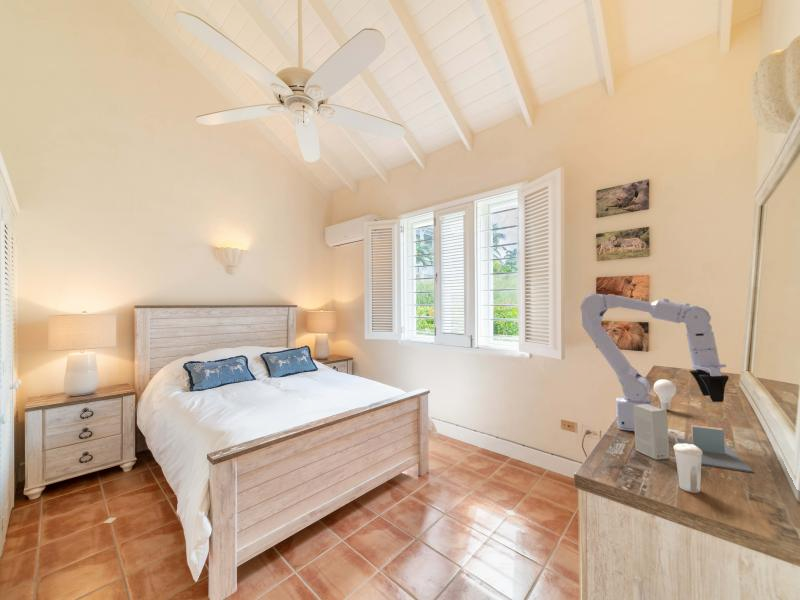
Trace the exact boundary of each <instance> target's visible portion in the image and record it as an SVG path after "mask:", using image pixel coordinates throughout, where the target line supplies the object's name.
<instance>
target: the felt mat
mask: <svg viewBox="0 0 800 600" xmlns="http://www.w3.org/2000/svg"><path fill="white" fill-rule="evenodd" d="M673 438H674V437H673ZM676 438H677V437H676ZM673 440H674V441H675V438H674V439H673ZM677 441H678V443H679V444H684V443H686V444H692V439H685V438H684V439H683V438H677ZM724 446H725V454H718V453H711V452H703V451H702V463H701V466H706V467H707V466H708V467H713V468H718V469H720V468H721V469H727V470H731V471H732V470H734V471H739V472H744V473H745V472H746V473H751V474H754V472H755V471H754V470H753V469H752V467H750V466H749V465H748V464H747V463H746V462H745V461H744V460H743V459H742V458H741V457H740V456H739V455H738V454H737V453H735V451H734V450H733V449H732V448H731V447H730V446H728V445H727V444H725V443H724Z"/></svg>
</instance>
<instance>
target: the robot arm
mask: <svg viewBox="0 0 800 600" xmlns="http://www.w3.org/2000/svg"><path fill="white" fill-rule="evenodd" d="M690 305H691V304H690V303H687V302H685V304H684V303H680V302H679V303H678V302H674V301H673V302H672V301H670V299H669V298H663V299H658V300H657V299H656V300H655V301H653V302H650V301H645V300H641V299H636V298H632V297H627V296H623V295H617V294H615V295H614V294H603V293H602V294H601V293H590V294H587V295H586V296H585V297H584V298H583V299H582V302H581V304H580V307H579V308H580V311H581V324H582V328H583V329H584V330H585V332H586V333H587V335H588V337H590V339H591V341H593V343H594V344H595V346H596V347H597V349H598V350H599V351H600V353H601V354H602V356H603V357H604V358H605V360H606V361H607V363H608V364H609V365H610V367H611V368H612V370H613V371H614V372H615V374H616V376H617V380H618V382H619V383H620V385H621V388H622V393H623V394H624V395H623V397H616V398H615V407H616V408H615V411H616V413H615V414H616V415H615V421H616V425H617V428H618V429H619V430H623V431H631V432H635V427H634V407H633V405H640V404H648V405H651V406H653V399H652V398H651V397H650V395H649V393H650V392H651V390H652V384H651V382H650V380H649V379H648V378H647V377H645V376H643V375H642V374H641V373H640V372H639V371H638V370H637V369H636V368H635V367H634V366H632V364H631V363H630V361H629V360H628V359H627V357H626V356H625V355H624V353H623V352H622V351H621V350H620V348H619V346H618V345H617V344H616V343H615V341H614V340H613V339H612V337H611V336H610V334H609V333H608V331H606V329H605V328H604V326H603V325H602V321H603V317H604V315H605V313H606V312H607V311H608V309H616V308H623V309H624V308H625V309H629V310H635V311H639V312H646V313H648V314H650V316H651V317H652V319H656V320H662V321H666V322H671V323H676V324H680V323H684V324H685V328H686V339H687V345H688V349H689V353H690V358H691V368H692V369H694V370H689V373H690V375H691V376H692V377H693V378H694V379H695V382H696V383H697V385H698V388H699V390H700V393H701V394H702V396H704V397H707V396H708V397H709V398H710V400H711V401H712V402H713V403H723V402H724V399H725V389H726V385H727V382H728V381H729V376H728V375H726V374H725V375H724V374H723V375H722V370H721V369H722V368H727V364H725V363H720V358H719V354H718V348H717V345H716V344H717V343H716V339H715V335H714V332H713V326H712V325H711V323H710V322H711V320H712V317H711V315H710V312H709V311H708V310H707V309H705V308H704V307H700V306H699V305H693V306H690ZM616 418H617V419H616Z"/></svg>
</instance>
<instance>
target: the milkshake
mask: <svg viewBox="0 0 800 600" xmlns="http://www.w3.org/2000/svg"><path fill="white" fill-rule="evenodd" d="M673 438H675V440H674V441H675V444H674V445H673V453H674V458H675V459H674V460H675V464H676V470H677V477H678V478H677V479H678V485H679V488H680V489H682V490H683V491H685V492H688V493H693V494H698V493H701V480H702V465H701V463H702V451H701V449H699V448H698V447H697V446H695V445H693V444H686V443H684V444H679V443H678V441H677V435H676V434H673Z"/></svg>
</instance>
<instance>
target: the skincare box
mask: <svg viewBox="0 0 800 600" xmlns="http://www.w3.org/2000/svg"><path fill="white" fill-rule="evenodd" d="M633 407H634V427H635V431H634V446H635V451H637V452H638V453H641V454H642V455H645V456H647V457H649V458H651V459H654V460H666V459H667V460H668V459H670V446H669V444H670V443H669V442H670V441H669V425H668V410H664V409H662V408H661V407H660V408H659V407H657V406H654V405H652V406H651V405H648V404H640V405H633Z"/></svg>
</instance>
